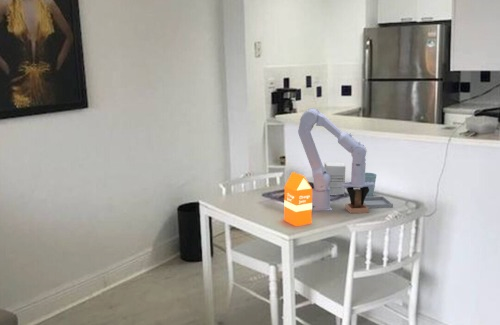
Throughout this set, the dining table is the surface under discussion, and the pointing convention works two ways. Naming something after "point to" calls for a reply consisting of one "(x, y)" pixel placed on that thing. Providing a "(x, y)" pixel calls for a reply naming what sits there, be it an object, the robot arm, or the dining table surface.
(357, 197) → the peg
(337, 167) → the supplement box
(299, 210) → the orange juice
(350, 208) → the orange square open box
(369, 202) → the tray
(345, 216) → the dining table surface
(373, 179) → the cup
